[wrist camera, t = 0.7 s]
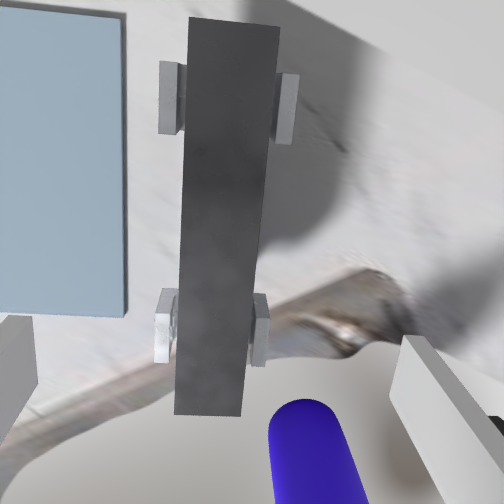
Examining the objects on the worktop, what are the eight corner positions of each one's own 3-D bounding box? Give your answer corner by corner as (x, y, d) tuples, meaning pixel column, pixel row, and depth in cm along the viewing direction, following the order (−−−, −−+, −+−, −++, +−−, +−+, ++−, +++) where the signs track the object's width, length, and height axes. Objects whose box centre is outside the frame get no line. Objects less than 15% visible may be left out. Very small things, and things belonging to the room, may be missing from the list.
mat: (-15, 308, 43) (-18, 311, 42) (-55, 1, 33) (-60, -1, 33) (124, 314, 44) (123, 317, 43) (121, 20, 35) (120, 19, 34)
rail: (237, 364, 36) (240, 416, 30) (181, 362, 36) (174, 414, 30) (268, 38, 28) (280, 26, 22) (195, 30, 27) (188, 16, 22)
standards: (171, 294, 43) (154, 368, 32) (178, 60, 36) (159, 50, 25) (253, 298, 44) (264, 372, 33) (276, 70, 37) (301, 65, 26)
